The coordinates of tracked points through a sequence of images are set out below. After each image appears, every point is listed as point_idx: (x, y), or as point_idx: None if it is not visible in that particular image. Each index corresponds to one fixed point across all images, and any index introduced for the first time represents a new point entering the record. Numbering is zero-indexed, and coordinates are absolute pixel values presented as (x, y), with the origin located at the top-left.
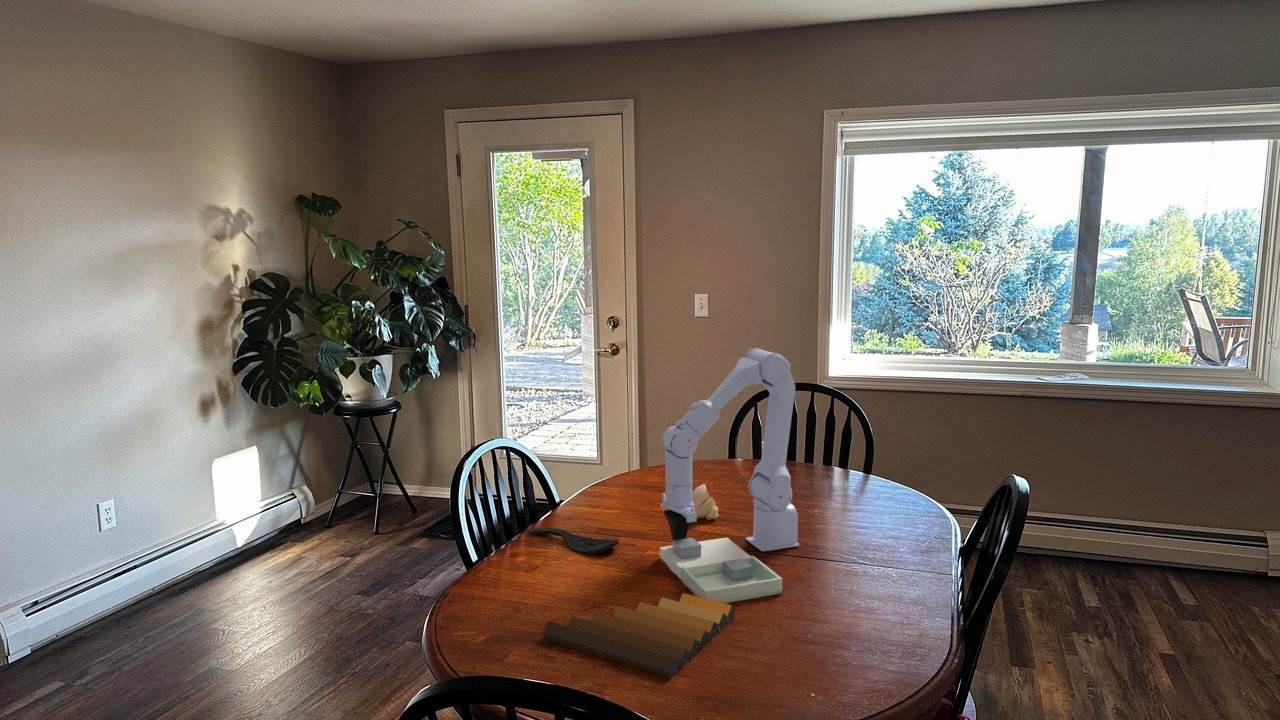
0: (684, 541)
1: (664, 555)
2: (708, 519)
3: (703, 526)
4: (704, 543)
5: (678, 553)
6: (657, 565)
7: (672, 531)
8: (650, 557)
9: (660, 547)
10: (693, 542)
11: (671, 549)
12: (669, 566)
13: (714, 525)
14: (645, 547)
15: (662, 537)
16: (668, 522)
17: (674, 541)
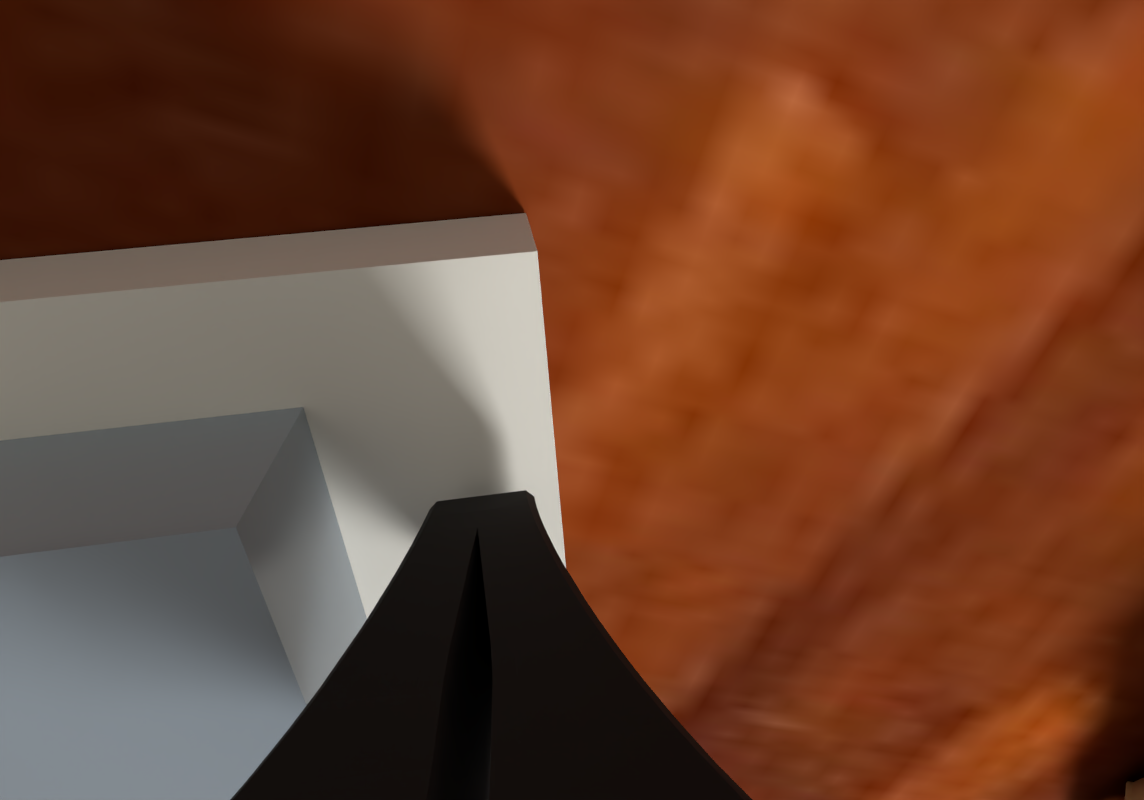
0: (166, 690)
1: (323, 255)
2: (1131, 784)
3: (1056, 736)
4: None
5: (16, 467)
6: (284, 102)
7: (449, 646)
8: (601, 86)
9: (524, 258)
10: (109, 792)
11: (402, 405)
12: (140, 251)
13: (1022, 792)
14: (951, 123)
15: (1083, 405)
16: (668, 767)
17: (165, 542)
